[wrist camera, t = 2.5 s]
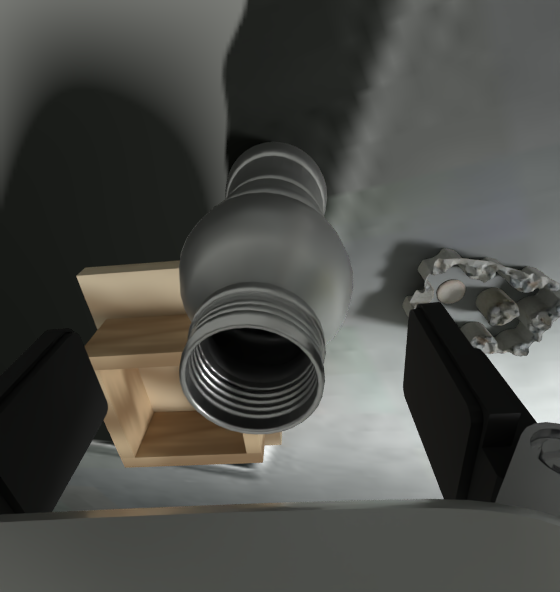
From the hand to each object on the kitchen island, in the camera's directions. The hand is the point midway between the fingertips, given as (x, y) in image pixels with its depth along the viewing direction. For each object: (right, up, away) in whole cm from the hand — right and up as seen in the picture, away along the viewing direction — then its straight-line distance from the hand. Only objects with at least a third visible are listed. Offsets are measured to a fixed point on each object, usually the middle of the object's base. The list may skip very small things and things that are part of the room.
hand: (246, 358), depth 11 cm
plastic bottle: (+1, +10, +16) cm, 19 cm away
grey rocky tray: (+16, +2, +20) cm, 26 cm away
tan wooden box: (-7, -4, +24) cm, 25 cm away
